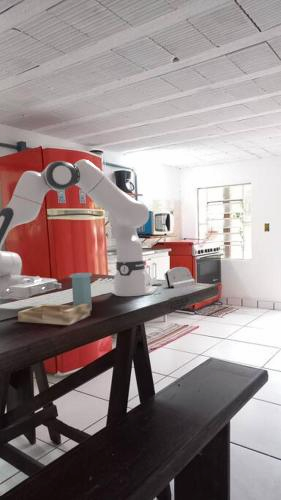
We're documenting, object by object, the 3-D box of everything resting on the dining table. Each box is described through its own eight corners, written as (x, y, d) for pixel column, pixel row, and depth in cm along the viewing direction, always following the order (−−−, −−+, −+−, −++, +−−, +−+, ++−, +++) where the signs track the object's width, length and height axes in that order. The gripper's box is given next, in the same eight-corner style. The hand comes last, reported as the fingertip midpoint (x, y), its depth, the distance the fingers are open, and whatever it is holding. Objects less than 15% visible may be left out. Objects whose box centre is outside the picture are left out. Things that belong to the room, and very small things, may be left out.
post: (80, 309, 123) (78, 272, 122) (93, 309, 121) (91, 272, 120) (71, 312, 118) (69, 274, 117) (85, 313, 116) (83, 274, 115)
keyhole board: (43, 312, 120) (42, 301, 120) (90, 315, 112) (89, 303, 112) (18, 321, 109) (17, 308, 109) (69, 325, 101) (68, 311, 101)
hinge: (174, 288, 159) (168, 267, 161) (167, 290, 162) (161, 270, 164) (196, 283, 171) (190, 264, 173) (189, 286, 174) (183, 267, 176)
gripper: (0, 283, 119) (32, 283, 114) (39, 275, 138) (68, 275, 133) (1, 301, 120) (33, 302, 114) (40, 291, 139) (69, 292, 133)
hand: (52, 288), depth 124 cm, fingers open, 8 cm apart
